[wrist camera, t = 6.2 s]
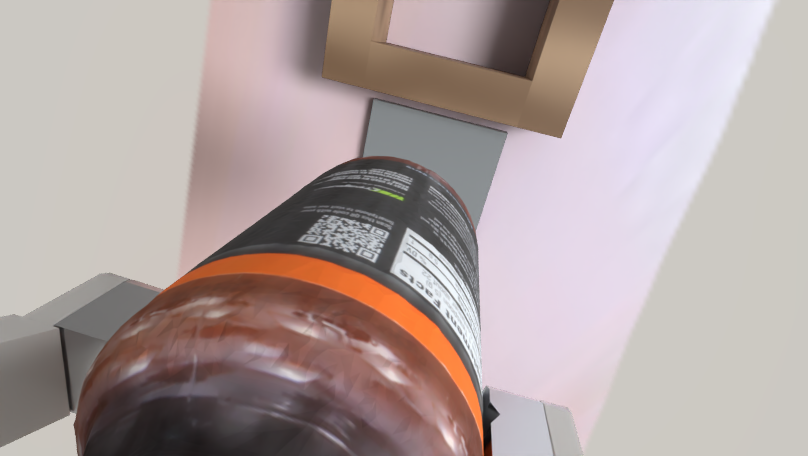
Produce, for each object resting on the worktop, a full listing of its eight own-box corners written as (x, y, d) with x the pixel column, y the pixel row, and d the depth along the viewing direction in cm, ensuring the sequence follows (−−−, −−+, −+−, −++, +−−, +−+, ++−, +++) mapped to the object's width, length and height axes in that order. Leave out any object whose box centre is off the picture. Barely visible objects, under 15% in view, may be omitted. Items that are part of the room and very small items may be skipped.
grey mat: (375, 98, 28) (373, 99, 27) (506, 132, 27) (507, 133, 27) (353, 218, 32) (351, 221, 31) (468, 250, 31) (468, 253, 31)
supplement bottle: (337, 331, 15) (47, 884, 5) (273, 179, 14) (-384, 548, 3) (499, 301, 14) (565, 1006, 3) (451, 125, 12) (295, 501, 2)
